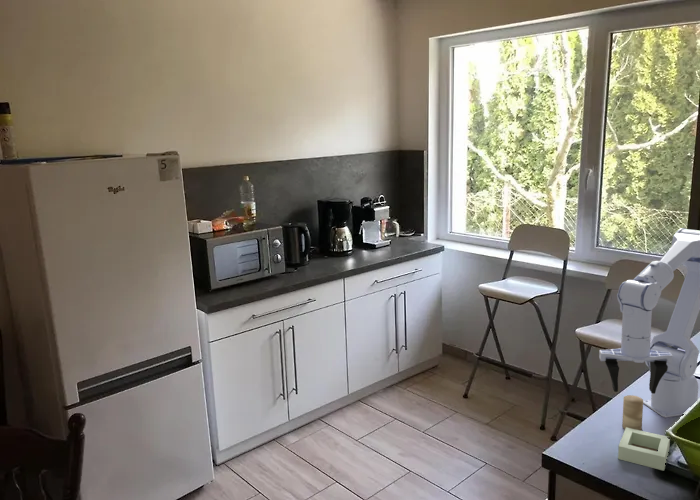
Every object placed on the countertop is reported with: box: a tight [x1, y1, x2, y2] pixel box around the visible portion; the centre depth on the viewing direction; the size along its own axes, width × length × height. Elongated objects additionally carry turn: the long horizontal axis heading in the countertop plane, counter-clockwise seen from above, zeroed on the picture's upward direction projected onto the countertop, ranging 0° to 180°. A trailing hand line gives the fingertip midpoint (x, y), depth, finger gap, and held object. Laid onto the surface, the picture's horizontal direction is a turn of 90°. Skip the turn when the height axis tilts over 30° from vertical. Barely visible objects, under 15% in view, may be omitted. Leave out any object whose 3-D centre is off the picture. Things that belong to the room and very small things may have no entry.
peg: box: [621, 394, 644, 431], centre depth 130 cm, size 4×4×7 cm
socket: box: [617, 427, 671, 472], centre depth 120 cm, size 8×8×3 cm
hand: (633, 390), depth 128 cm, fingers open, 7 cm apart
